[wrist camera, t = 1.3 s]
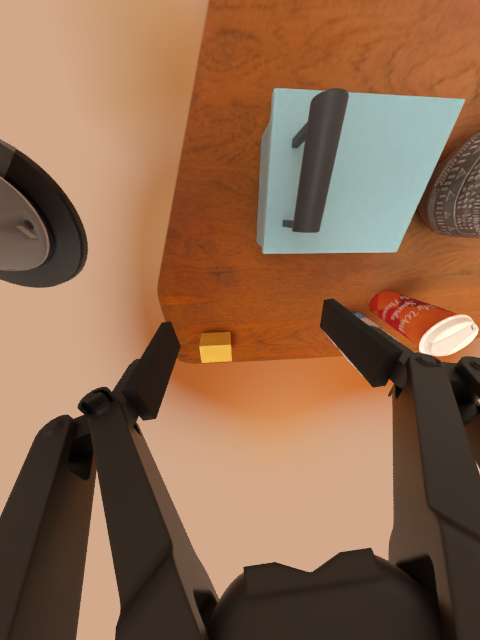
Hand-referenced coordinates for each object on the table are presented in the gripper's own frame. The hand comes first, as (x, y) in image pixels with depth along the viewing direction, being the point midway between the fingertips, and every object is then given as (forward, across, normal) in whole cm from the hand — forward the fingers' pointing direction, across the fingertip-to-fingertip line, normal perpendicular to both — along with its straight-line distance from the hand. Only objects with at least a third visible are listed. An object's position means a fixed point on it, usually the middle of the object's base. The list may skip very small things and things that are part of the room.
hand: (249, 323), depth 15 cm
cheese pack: (+22, -7, -18) cm, 29 cm away
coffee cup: (+22, +34, -14) cm, 43 cm away
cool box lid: (+12, +14, +9) cm, 20 cm away
